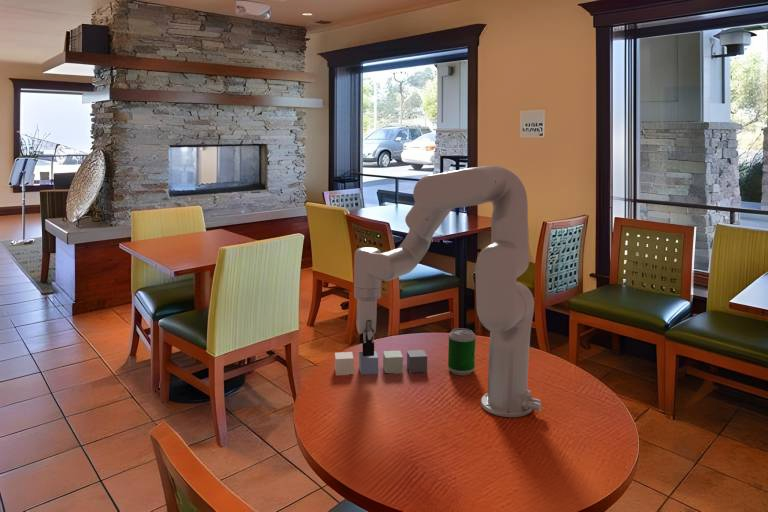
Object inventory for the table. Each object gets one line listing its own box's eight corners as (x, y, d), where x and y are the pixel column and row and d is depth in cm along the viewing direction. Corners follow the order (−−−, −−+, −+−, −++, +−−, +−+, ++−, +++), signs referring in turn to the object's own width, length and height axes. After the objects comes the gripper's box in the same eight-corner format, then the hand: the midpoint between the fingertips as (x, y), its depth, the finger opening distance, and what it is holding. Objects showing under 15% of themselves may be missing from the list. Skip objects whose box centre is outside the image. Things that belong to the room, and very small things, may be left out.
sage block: (400, 366, 166) (400, 350, 165) (402, 373, 161) (402, 356, 160) (383, 367, 166) (383, 351, 165) (385, 374, 161) (385, 357, 160)
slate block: (376, 367, 166) (376, 351, 165) (378, 374, 161) (378, 357, 160) (359, 368, 165) (359, 351, 164) (360, 375, 160) (360, 358, 159)
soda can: (473, 377, 158) (475, 336, 156) (446, 375, 160) (447, 335, 157) (474, 367, 165) (476, 328, 163) (449, 365, 167) (450, 326, 164)
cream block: (352, 367, 165) (352, 351, 164) (353, 374, 160) (353, 358, 159) (335, 368, 165) (334, 352, 164) (335, 375, 160) (335, 359, 159)
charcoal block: (423, 365, 167) (423, 349, 166) (427, 372, 162) (427, 356, 161) (406, 366, 166) (407, 350, 165) (409, 373, 161) (409, 357, 160)
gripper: (351, 283, 166) (351, 338, 170) (356, 301, 149) (355, 361, 153) (377, 283, 167) (376, 338, 171) (384, 300, 150) (383, 360, 154)
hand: (366, 349), depth 162 cm, fingers open, 9 cm apart
